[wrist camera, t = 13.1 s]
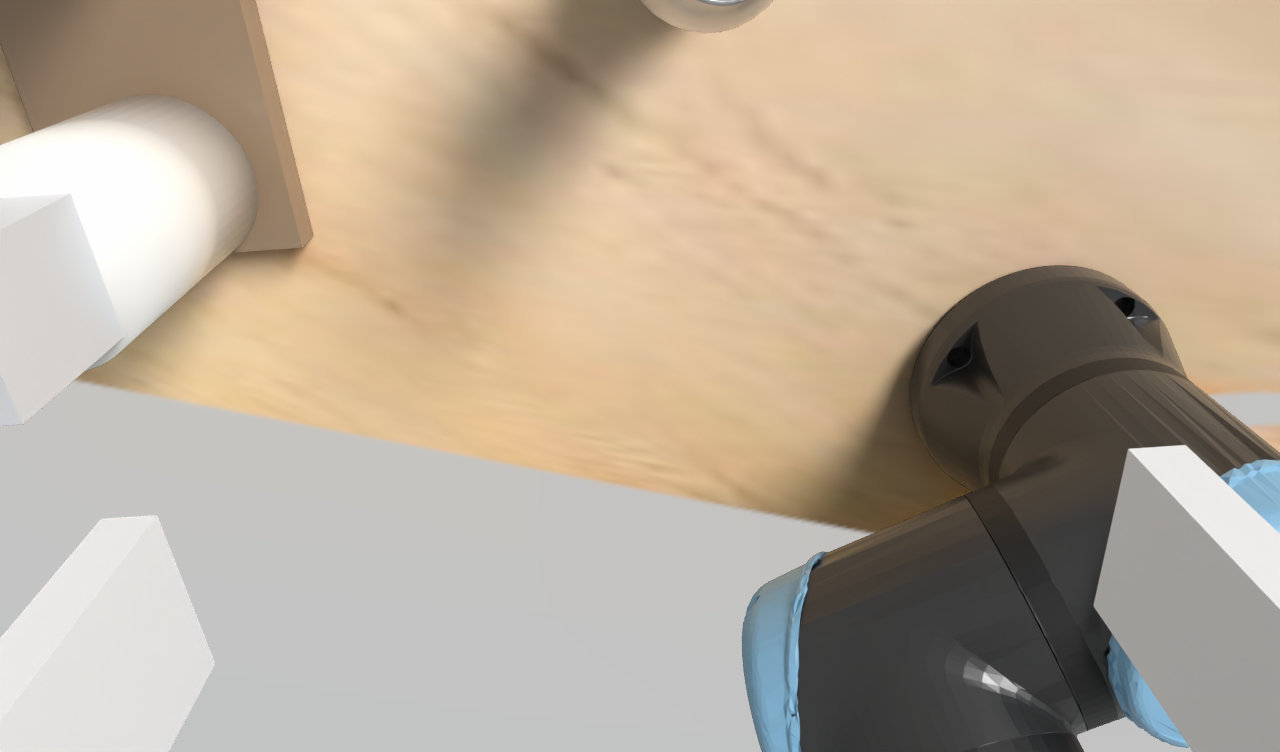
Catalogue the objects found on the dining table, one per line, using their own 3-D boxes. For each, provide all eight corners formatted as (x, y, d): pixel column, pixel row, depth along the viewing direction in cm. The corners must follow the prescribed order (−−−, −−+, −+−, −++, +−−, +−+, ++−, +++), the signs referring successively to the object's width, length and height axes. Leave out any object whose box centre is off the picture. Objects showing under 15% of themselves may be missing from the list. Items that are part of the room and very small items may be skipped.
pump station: (315, 244, 50) (125, 455, 31) (104, 259, 51) (-216, 479, 31) (180, -303, 39) (-260, -516, 19) (-93, -282, 39) (-802, -471, 19)
